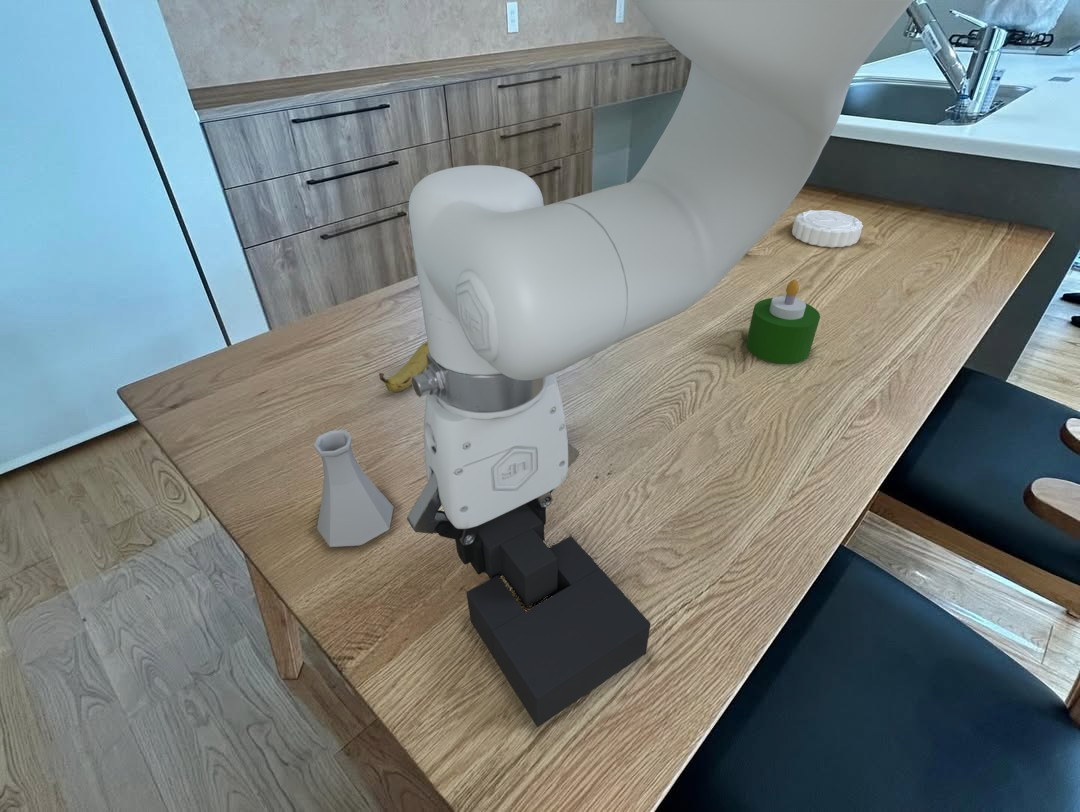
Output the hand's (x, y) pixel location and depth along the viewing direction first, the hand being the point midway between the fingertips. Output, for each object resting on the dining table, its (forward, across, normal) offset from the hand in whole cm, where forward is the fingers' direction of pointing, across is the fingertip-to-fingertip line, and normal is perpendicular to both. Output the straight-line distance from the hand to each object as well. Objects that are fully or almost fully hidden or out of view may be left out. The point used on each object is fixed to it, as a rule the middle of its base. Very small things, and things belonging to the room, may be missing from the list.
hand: (503, 545), depth 50 cm
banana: (+4, +5, +32) cm, 33 cm away
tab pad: (0, 0, -2) cm, 2 cm away
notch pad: (+3, 0, -8) cm, 9 cm away
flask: (+4, -9, +13) cm, 16 cm away
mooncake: (+4, +91, +33) cm, 97 cm away
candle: (+4, +50, +11) cm, 51 cm away
